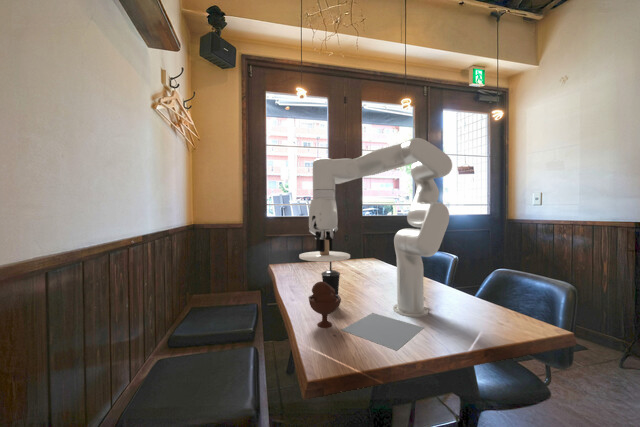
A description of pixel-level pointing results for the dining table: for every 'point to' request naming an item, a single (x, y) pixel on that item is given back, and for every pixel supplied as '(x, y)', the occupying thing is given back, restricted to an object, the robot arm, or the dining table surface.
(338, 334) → the dining table surface
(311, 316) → the dining table surface
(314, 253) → the lid
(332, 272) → the drinking cup
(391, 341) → the mat
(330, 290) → the ice cream bowl
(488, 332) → the dining table surface
